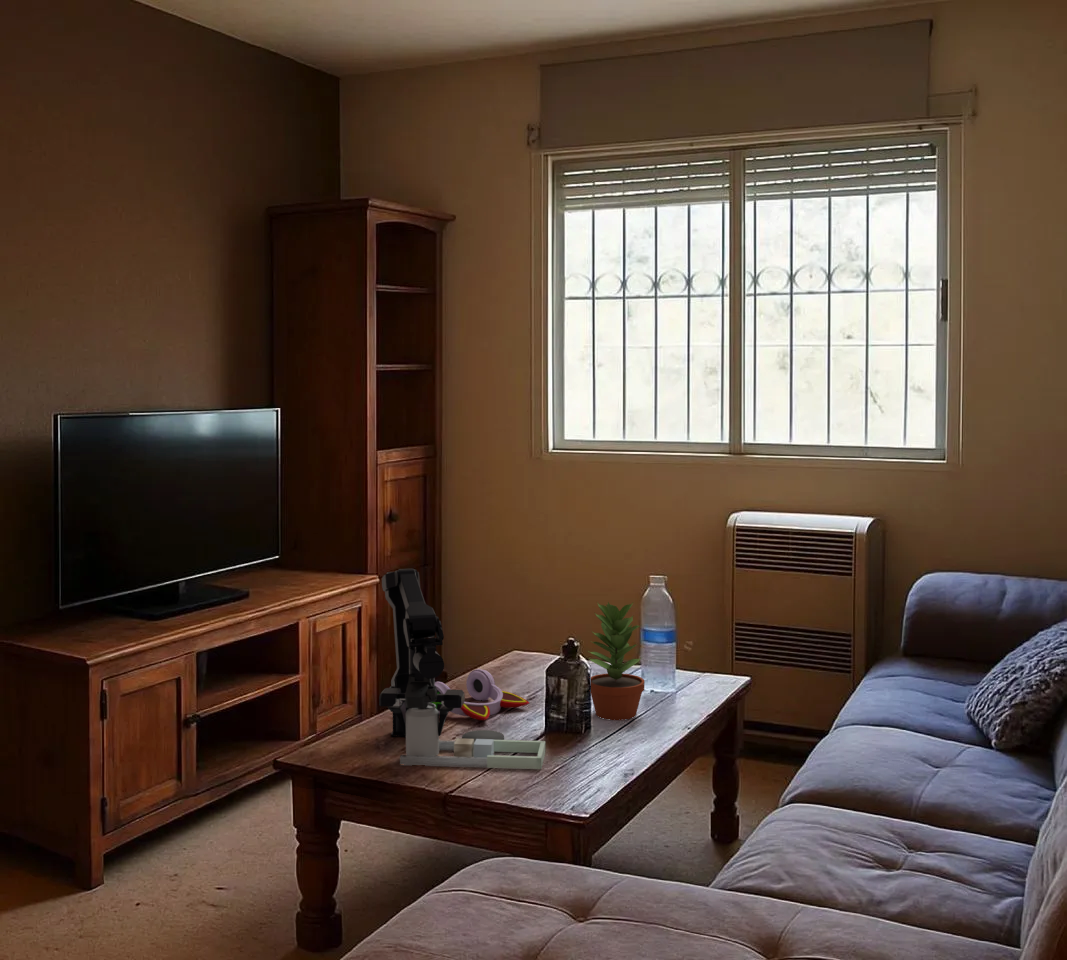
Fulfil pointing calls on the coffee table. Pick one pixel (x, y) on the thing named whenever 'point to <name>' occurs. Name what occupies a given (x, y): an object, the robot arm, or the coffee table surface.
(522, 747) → the tray
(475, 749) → the grey-blue block
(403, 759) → the channel
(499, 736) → the coaster
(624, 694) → the potted plant
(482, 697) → the headphones
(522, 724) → the coffee table surface
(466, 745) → the cream block
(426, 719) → the can
